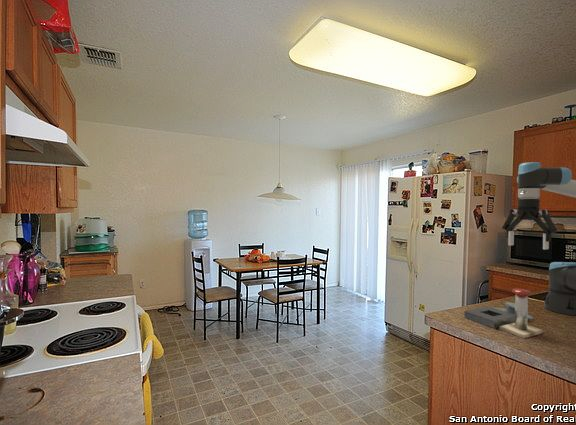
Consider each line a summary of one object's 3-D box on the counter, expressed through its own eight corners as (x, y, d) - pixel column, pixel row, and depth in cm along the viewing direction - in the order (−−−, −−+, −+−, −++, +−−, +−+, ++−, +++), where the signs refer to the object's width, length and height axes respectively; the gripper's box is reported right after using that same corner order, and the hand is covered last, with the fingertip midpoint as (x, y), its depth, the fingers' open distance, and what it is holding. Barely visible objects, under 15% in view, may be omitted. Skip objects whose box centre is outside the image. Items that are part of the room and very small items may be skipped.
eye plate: (488, 312, 143) (488, 306, 143) (518, 322, 131) (518, 315, 131) (464, 317, 137) (464, 310, 137) (494, 328, 125) (494, 321, 125)
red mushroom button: (517, 324, 126) (518, 288, 126) (534, 329, 121) (534, 291, 120) (508, 326, 124) (508, 289, 123) (524, 332, 118) (525, 293, 118)
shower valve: (507, 308, 134) (489, 298, 149) (507, 321, 134) (489, 309, 149) (538, 310, 132) (517, 299, 147) (538, 322, 132) (517, 310, 147)
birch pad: (517, 324, 129) (518, 321, 129) (542, 333, 121) (542, 330, 121) (499, 329, 124) (499, 326, 124) (524, 338, 116) (524, 335, 116)
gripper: (494, 198, 144) (493, 244, 144) (558, 197, 121) (556, 251, 121) (504, 199, 147) (503, 243, 147) (568, 198, 124) (567, 250, 124)
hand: (527, 247), depth 134 cm, fingers open, 13 cm apart
